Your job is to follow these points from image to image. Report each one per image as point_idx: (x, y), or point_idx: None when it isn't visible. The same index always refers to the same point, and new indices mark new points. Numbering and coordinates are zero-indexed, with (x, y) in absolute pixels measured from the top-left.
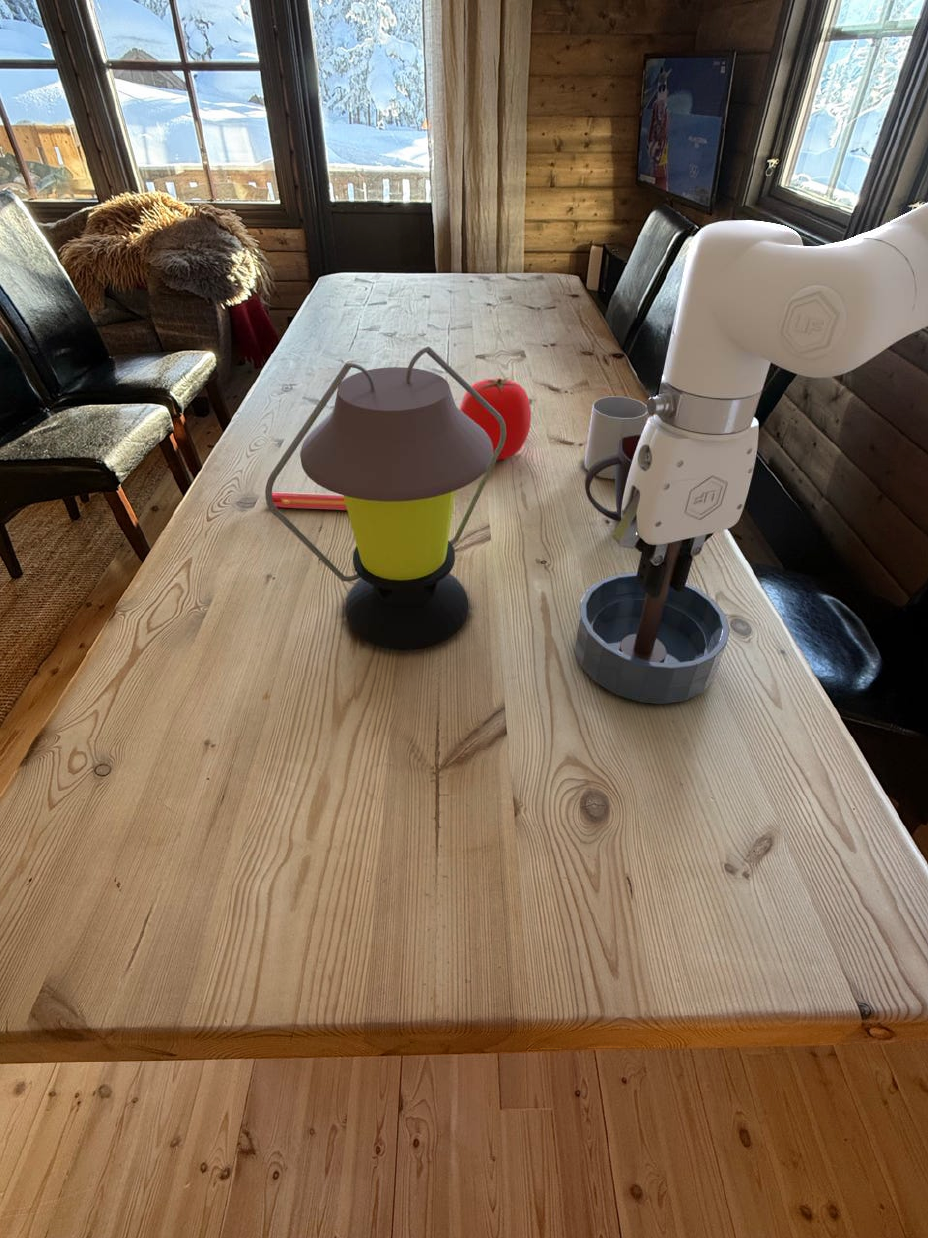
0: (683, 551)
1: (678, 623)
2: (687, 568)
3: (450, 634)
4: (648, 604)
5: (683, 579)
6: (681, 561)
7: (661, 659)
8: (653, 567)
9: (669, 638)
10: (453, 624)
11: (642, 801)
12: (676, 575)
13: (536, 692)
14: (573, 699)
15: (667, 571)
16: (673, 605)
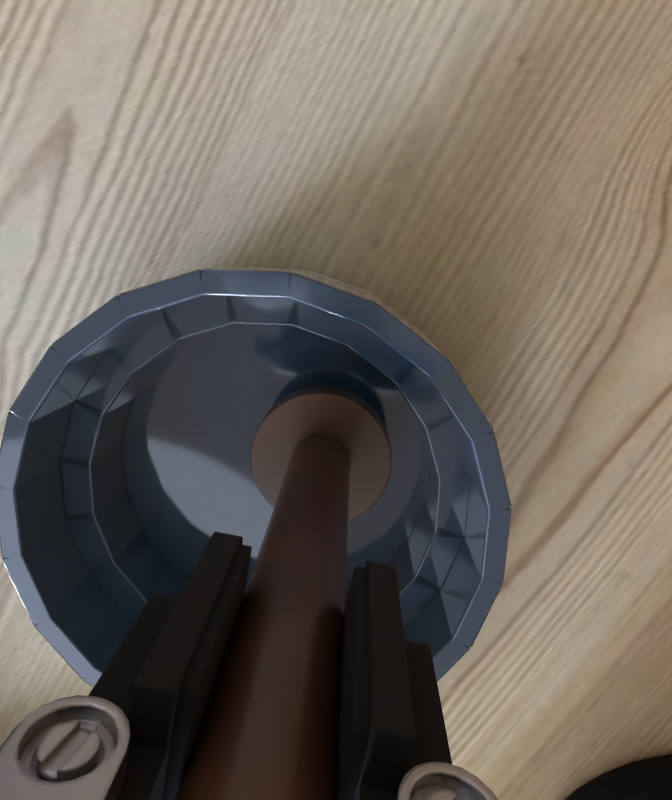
0: (156, 780)
1: (118, 498)
2: (187, 630)
3: (663, 763)
4: (345, 562)
5: (218, 578)
6: (199, 701)
7: (304, 398)
8: (421, 748)
9: (173, 472)
10: (658, 789)
11: (653, 73)
12: (230, 623)
13: (609, 507)
14: (546, 441)
15: (303, 673)
16: (102, 552)
